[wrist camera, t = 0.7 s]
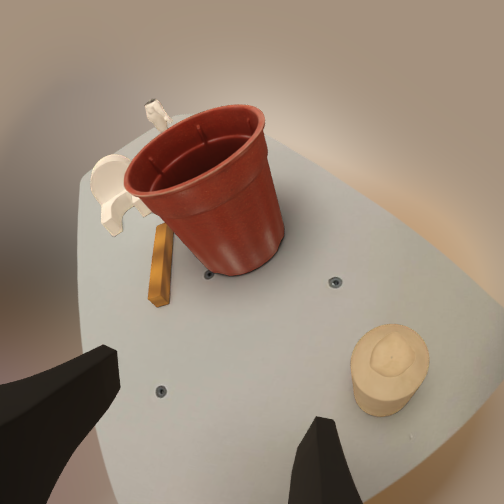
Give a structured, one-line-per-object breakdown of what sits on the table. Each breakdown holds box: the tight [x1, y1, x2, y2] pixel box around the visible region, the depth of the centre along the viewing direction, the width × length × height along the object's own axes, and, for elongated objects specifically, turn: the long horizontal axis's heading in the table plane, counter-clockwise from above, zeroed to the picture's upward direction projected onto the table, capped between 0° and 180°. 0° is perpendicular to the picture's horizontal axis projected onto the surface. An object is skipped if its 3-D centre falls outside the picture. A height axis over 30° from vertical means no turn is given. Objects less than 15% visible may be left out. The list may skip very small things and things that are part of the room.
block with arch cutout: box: [90, 155, 152, 237], centre depth 57 cm, size 18×10×11 cm, turn 24°
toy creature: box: [144, 99, 173, 133], centre depth 70 cm, size 12×6×12 cm, turn 31°
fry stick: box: [148, 223, 174, 307], centre depth 43 cm, size 14×2×2 cm, turn 7°
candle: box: [351, 324, 429, 417], centre depth 20 cm, size 6×6×10 cm
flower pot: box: [124, 104, 284, 276], centre depth 36 cm, size 16×16×16 cm
